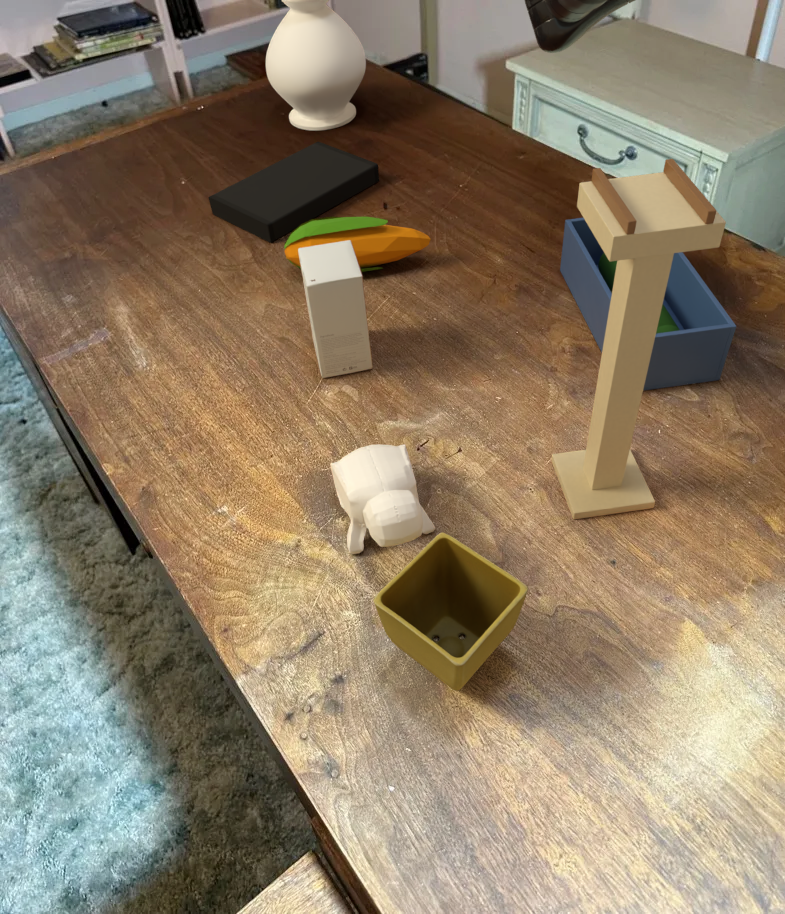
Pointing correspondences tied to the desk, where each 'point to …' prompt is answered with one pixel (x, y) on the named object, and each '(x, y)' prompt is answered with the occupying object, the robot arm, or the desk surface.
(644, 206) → the wooden cradle stand
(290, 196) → the external hard drive
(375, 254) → the corn
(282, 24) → the decorative vase
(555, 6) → the robot arm
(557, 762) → the desk surface
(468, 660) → the flower pot
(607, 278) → the green cylinder
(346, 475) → the white animal figurine
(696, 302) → the open box
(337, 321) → the small box
